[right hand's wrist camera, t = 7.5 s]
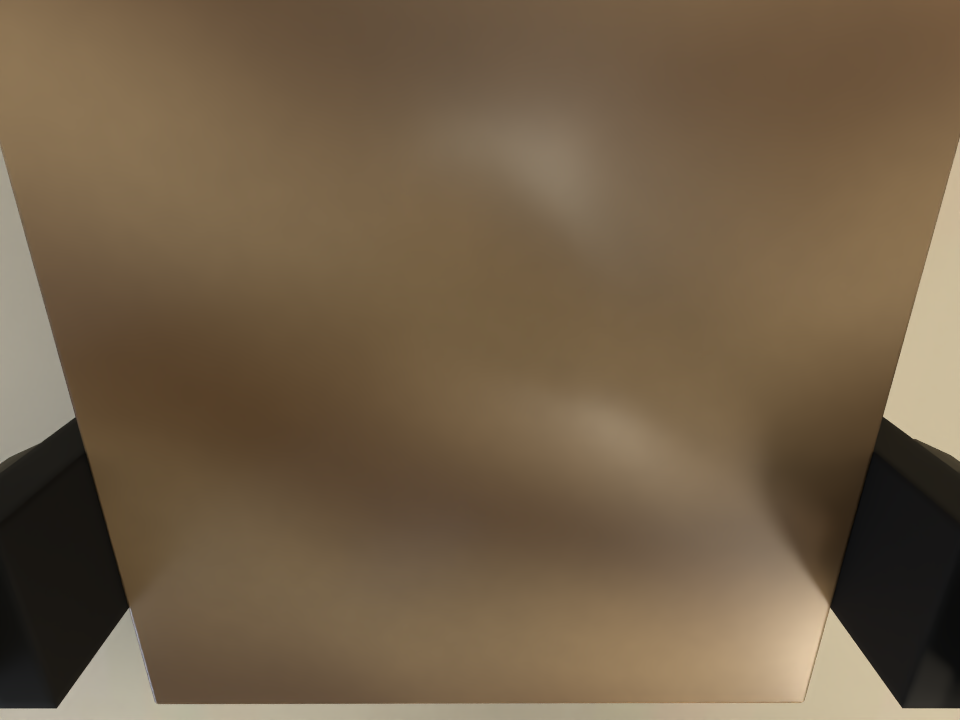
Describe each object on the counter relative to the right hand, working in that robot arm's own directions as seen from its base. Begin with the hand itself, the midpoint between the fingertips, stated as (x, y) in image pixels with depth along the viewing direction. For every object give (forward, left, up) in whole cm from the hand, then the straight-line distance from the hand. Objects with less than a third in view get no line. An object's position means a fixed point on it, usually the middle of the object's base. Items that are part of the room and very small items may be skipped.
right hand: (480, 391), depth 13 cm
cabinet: (+6, -4, -5) cm, 8 cm away
